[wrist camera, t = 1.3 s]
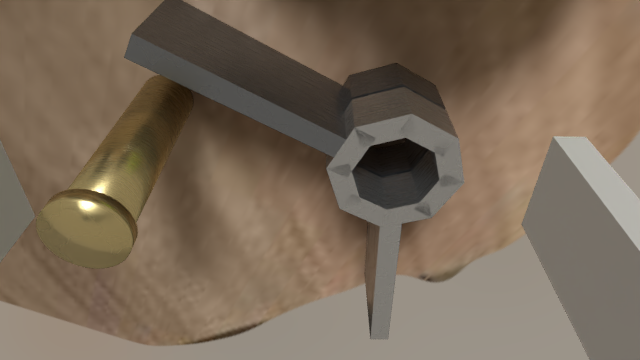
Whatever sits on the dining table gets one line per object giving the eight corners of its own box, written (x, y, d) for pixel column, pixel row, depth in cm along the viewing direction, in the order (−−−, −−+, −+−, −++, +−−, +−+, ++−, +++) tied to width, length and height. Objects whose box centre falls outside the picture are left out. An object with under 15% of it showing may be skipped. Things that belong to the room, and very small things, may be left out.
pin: (129, 108, 38) (28, 248, 25) (147, 59, 35) (45, 186, 23) (186, 133, 39) (118, 279, 26) (207, 87, 37) (142, 223, 24)
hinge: (108, 169, 42) (68, 230, 35) (187, -56, 31) (151, -27, 24) (375, 277, 49) (383, 343, 43) (513, 129, 39) (551, 188, 32)
